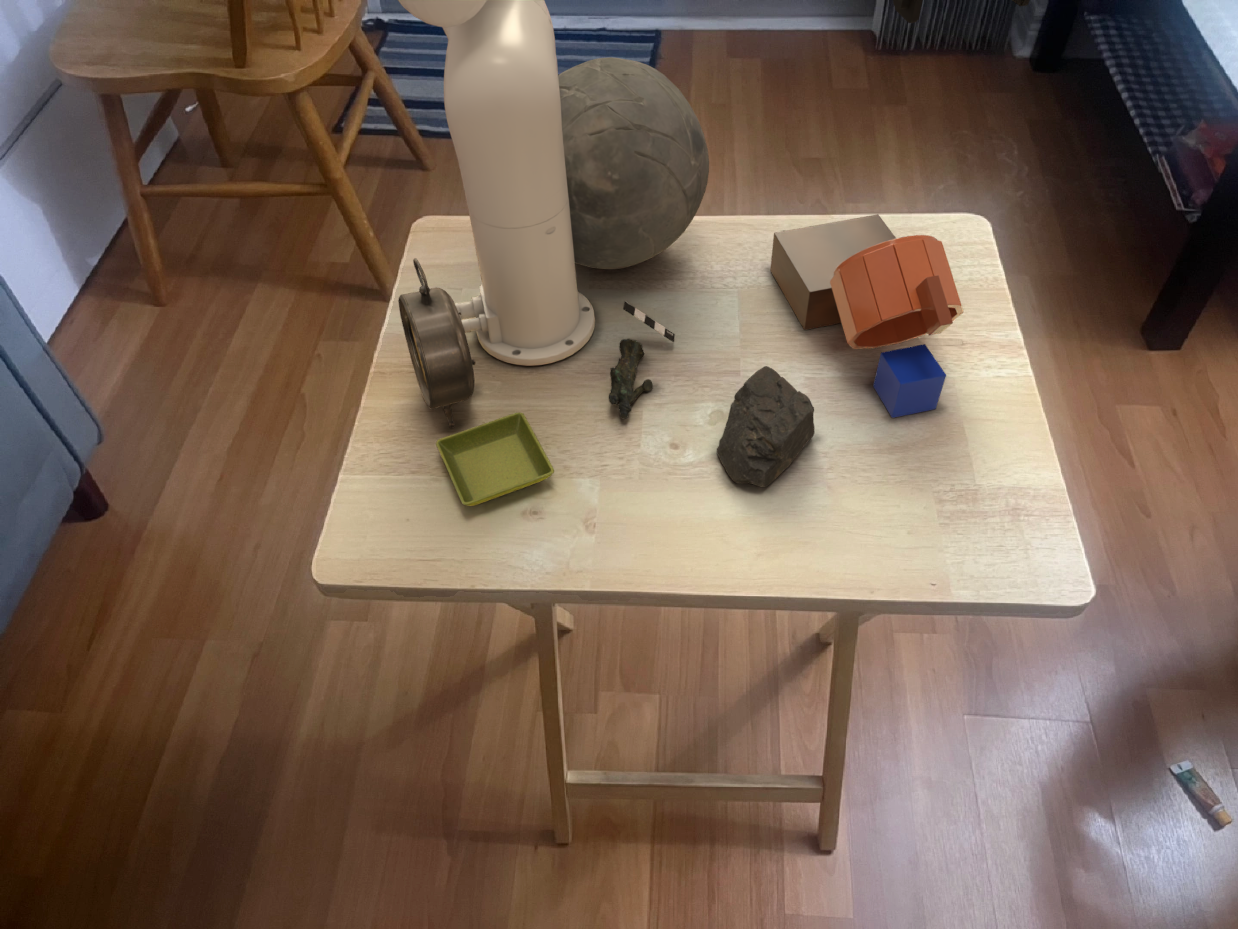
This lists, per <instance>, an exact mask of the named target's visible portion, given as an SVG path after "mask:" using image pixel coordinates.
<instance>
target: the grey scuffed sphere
mask: <svg viewBox="0 0 1238 929" xmlns="http://www.w3.org/2000/svg"><path fill="white" fill-rule="evenodd" d="M558 80H559V91H560V102H561V119H562V134H563V147H564V157H565V167H566V177H567V188H568V197H569V207H570V218H571V229H572V239H573V250H574V261H575V264H577V265H580V266H585V267H588V268H593V269H599V270H618V269H619V270H620V269H626V268H630V267H632V266H635V265H638V264H641V263H643V262H645V261H648V260H649V259H652V258H655V257H656V256H658V255H659V254H661V253H662V252H664V251H665V250H667V249H668V248H669V247H671V246H672V244H674V243H675V242H676V241H677V240H678V239H679V238H680V237H681V236H682V235H683V234H684V233H685V231H686V230H687V229H688V228H689V227H690V225H691V223H692V221H693V220H694V218H695V217H696V214H697V212H698V211H699V208H700V206H701V204H702V201H703V198H704V196H705V193H706V190H707V186H708V183H709V175H710V174H709V173H710V157H709V148H708V144H707V140H706V137H705V134H704V130H703V128H702V126H701V124H700V121H699V117H697V115H696V113H695V111H694V109H693V107H692V106H691V104H690V103H689V101H688V100H687V99H686V97H685V96H684V94H683V93H682V91H681V90H680V89H679V88H678V87H677V86H676V84H674V83H673V82H672V81H671V80H670V79H669V78H668V77H667V76H666V75H665V74H664V73H662V72H660V71H659V70H657V69H656V68H654V67H652V66H650V65H648V64H646V63H643V62H640V61H637V60H631V59H625V58H620V57H611V56H610V57H600V58H598V57H597V58H594V59H590V60H587V61H585V62H582V63H579V64H576V65H575V66H573V67H570V68H568V69H566V70H564V71H562V72H561V73H558Z"/></svg>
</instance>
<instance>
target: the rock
mask: <svg viewBox="0 0 1238 929" xmlns="http://www.w3.org/2000/svg"><path fill="white" fill-rule="evenodd" d="M733 397H734V399H733V401H732V402H731V404H730V408H729V413H728V417H727V420H726V423H725V427H724V429H723V433H722V436H721V438H720V439H719V441H718V446H717V448H716V454H717V456H718V457H719V461H720V462H721V464H722V466H723V467H724V469H725V472H726V473H727V475H728V477H730V479H731V480H732V481H733V482H734V483H736V484H749V485H755V486H757V487H760V488H765V487H766V488H767V487H769V486H770V485H771V484H772V483H773V482H774V481H775V480H776V479H777V478H778V477H779V476H781V474H782V473H783V472H784V471H785V470H787V469H788V468H789V467H790V466H791V465H792V463H793V461H794V459H795V458H796V457H798V455H799V453H801V451H802V450H803V449H804V447H805V446H806V445H807V443H808V442H809V441H810V440H811V439H812V438H813V437H814V435H815V422H814V412H815V407H814V406H813V403H812V401H811V399H810V398H809V396H808V395H807V394H805V393H803V392H802V391H800V390H797V389H796V388H795V387H794V386H793V385H792V384H791V383H790V382H789V381H788V380H787V379H786V378H784V377H783V376H781V375H780V374H779V372H777V371H776V370H775V369H774V368H772V367H770V366H768V365H765V366H763V367H761V368H759V369H758V370H756V371H755V372H754V373H753V374H752V375H751V376H750V377H749V378H748V379H747V380H746V381H745V382H743V384H742V386H741V387H740V388H738V390H737V392H736V393H735V394H734V396H733Z"/></svg>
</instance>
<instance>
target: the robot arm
mask: <svg viewBox="0 0 1238 929" xmlns="http://www.w3.org/2000/svg"><path fill="white" fill-rule="evenodd" d="M397 1H398V2H399V4H400V5H401V6H402V8H404V9H405V10H406V11H407V12H408V13H409V14H410V15H412V16H413V17H415V18H416V19H418V20H420V21H422V22H423V23H424V24H427V25H430V26H433V27H434V26H435V27H439V28H442V30H443V32H444V34H445V35H446V38H447V47H446V53H445V61H444V68H443V69H444V72H443V103H444V112H445V117H446V123H447V127H448V131H449V134H450V137H451V138H450V139H451V142H452V144H453V149H454V152H455V155H456V160H457V162H458V168H459V171H460V177H461V181H462V186H463V192H464V197H465V201H466V203H465V204H466V207H467V211H468V215H469V221H470V227H471V232H472V237H473V242H474V247H475V248H474V249H475V253H476V258H477V263H478V267H479V268H478V269H479V273H480V279H481V284H480V285H479V286H478V287H479V294H480V295H476V296H471V300H467V301H461V302H454V303H455V305H456V308H457V310H458V313H459V312H460V313H461V315H460V314H459V315H460V318H461V321H462V324H463V327H464V330H465V334H467V333H471V332H474V331H475V332H476V336H477V339H478V342H479V344H480V346H481V347H482V349H484V351H486V352H487V353H488V354H489V355H490V356H492V357H493V358H494V359H497V360H500V361H501V362H504V363H508V364H512V365H517V366H528V367H529V366H542V365H548V364H553V363H555V362H559V361H562V360H565V359H567V358H569V357H570V356H572V355H574V354H576V353H577V352H578V351H579V350H581V349H582V348H584V346H586V344H587V343H588V342H589V340H590V339H591V337H592V336H593V333H594V330H595V326H596V325H595V324H596V318H595V311H594V308H593V305H592V303H591V302H590V300H589V299H588V298H587V297H586V296H585V295H584V294H583V293H582V292H580V291H578V285H577V272H576V263H575V261H574V250H573V239H572V229H571V218H570V207H569V197H568V188H567V177H566V167H565V157H564V147H563V134H562V119H561V102H560V91H559V80H558V75H559V70H558V59H557V50H556V38H555V37H556V36H555V30H554V25H553V20H552V17H551V13H550V11H549V9H548V6H547V4H546V1H545V0H397ZM1011 1H1012V2H1013V3H1015V4H1016V5H1018V6H1019V7H1025V6H1028V5H1029V3H1030V0H1011ZM923 2H924V0H892V3H893V6H894V9H895V11H896V12H897V14H898V15H900V16H901V17H902V18H903V19H904V20H905V21H906V22H907V23H908V24H914V23H917V22H918V21H919V20H920V16H921V11H922V6H923Z"/></svg>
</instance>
